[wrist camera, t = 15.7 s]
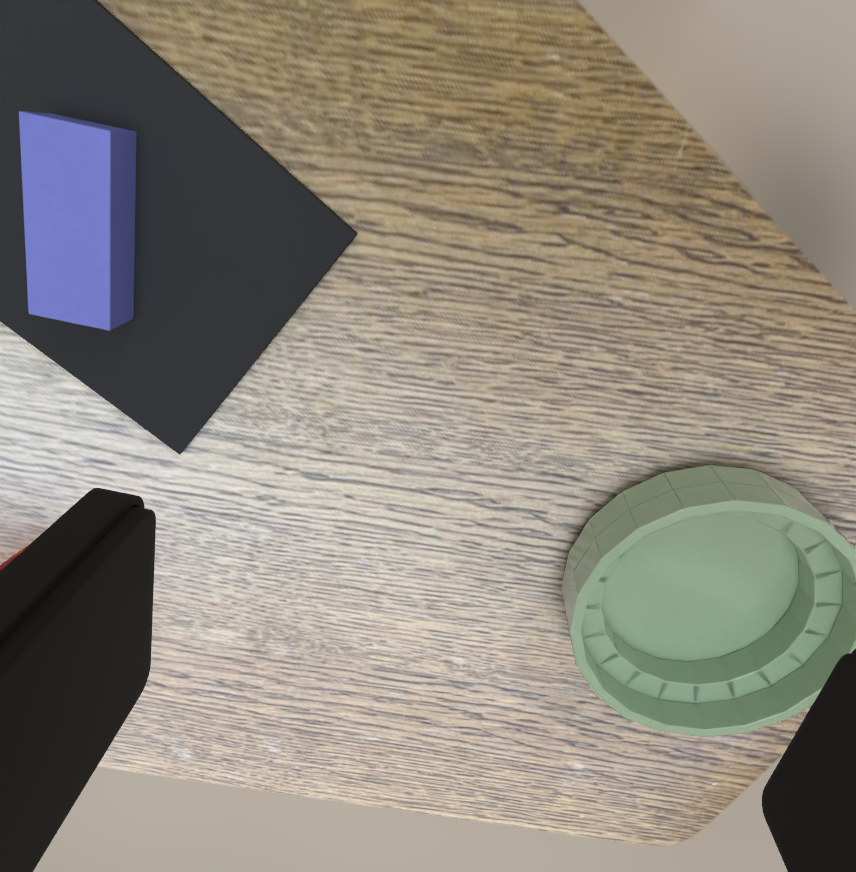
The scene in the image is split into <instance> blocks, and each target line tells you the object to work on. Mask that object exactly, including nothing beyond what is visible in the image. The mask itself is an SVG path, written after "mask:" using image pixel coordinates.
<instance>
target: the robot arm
mask: <svg viewBox="0 0 856 872" xmlns="http://www.w3.org/2000/svg"><path fill="white" fill-rule="evenodd" d="M155 528H156V517H155V513H154V512H153V511H152V510H148V509H144V503H143V500H142V498H141V497H139V496H135V495H131V494H126V493H121V492H116V491H111V490H106V489H101V488H94V489H92V490H91V491H89V492H88V493H87V494H86V495H85V496H84V497H82V498H81V499H80V500H79V501H78V502H77V503H76V504H75V505H74V506H72V507H71V508H70V509H69V510H68V511H67V512H66V513H65V514H63V515H62V516H61V517H60V518H59V519H58V520H57V521H56V522H55V523H53V524H52V525H51V526H50V527H49V528H48V529H47V530H46V531H45V532H43V533H42V534H41V535H40V536H39V537H38V538H37V539H36V540H34V541H33V542H32V543H31V544H30V545H29V546H28V547H27V548H26V549H24V550H23V551H22V552H21V553H20V554H19V555H18V556H17V557H16V558H14V559H13V560H12V561H11V562H10V563H9V564H8V565H7V566H5V567H4V568H3V569H2V570H1V571H0V872H33V870H34V869H35V867H36V866H37V864H38V862H39V861H40V859H41V857H42V856H43V854H44V852H45V851H46V849H47V847H48V846H49V844H50V842H51V841H52V839H53V837H54V836H55V834H56V833H57V831H58V829H59V828H60V826H61V824H62V823H63V821H64V819H65V818H66V816H67V815H68V813H69V811H70V810H71V808H72V806H73V805H74V803H75V801H76V800H77V798H78V796H79V795H80V793H81V792H82V790H83V788H84V787H85V785H86V783H87V782H88V780H89V778H90V777H91V775H92V773H93V772H94V770H95V769H96V767H97V765H98V764H99V762H100V760H101V759H102V757H103V756H104V754H105V752H106V751H107V749H108V747H109V746H110V744H111V742H112V741H113V739H114V737H115V736H116V734H117V733H118V731H119V729H120V728H121V726H122V724H123V723H124V721H125V719H126V718H127V716H128V714H129V713H130V711H131V710H132V708H133V706H134V705H135V703H136V701H137V700H138V698H139V696H140V695H141V693H142V691H143V689H144V687H145V684H146V682H147V678H148V675H149V671H150V664H151V639H152V611H153V583H154V556H155ZM762 807H763V813H764V816H765V819H766V822H767V824H768V826H769V829H770V831H771V833H772V836H773V838H774V840H775V843H776V845H777V847H778V849H779V852H780V854H781V856H782V859H783V861H784V863H785V866H786V868H787V870H788V872H856V649H854V650H853V652H852V653H848V654H845V655H843V656H842V657H841V658H840V659H839V661H838V662H837V664H836V666H835V667H834V669H833V671H832V672H831V674H830V676H829V678H828V679H827V681H826V683H825V684H824V686H823V688H822V690H821V691H820V693H819V695H818V696H817V698H816V700H815V702H814V703H813V705H812V707H811V708H810V710H809V712H808V714H807V715H806V717H805V719H804V720H803V722H802V724H801V726H800V727H799V729H798V731H797V732H796V734H795V736H794V738H793V739H792V741H791V743H790V744H789V746H788V748H787V750H786V751H785V753H784V755H783V756H782V758H781V760H780V762H779V764H778V765H777V767H776V769H775V770H774V772H773V774H772V775H771V777H770V779H769V781H768V782H767V784H766V786H765V788H764V790H763V795H762Z"/></svg>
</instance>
